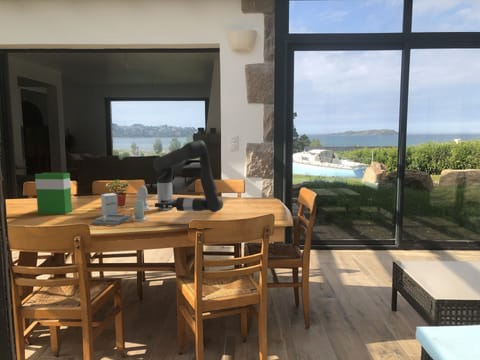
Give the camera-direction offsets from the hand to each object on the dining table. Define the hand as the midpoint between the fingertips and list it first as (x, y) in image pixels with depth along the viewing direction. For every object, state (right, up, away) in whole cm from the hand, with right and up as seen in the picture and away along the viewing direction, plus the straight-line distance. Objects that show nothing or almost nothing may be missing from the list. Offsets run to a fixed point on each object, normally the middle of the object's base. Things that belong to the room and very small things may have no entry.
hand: (158, 203), depth 220 cm
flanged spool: (-11, -9, +4) cm, 15 cm away
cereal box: (-68, -7, +24) cm, 72 cm away
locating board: (-25, -10, 0) cm, 27 cm away
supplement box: (-32, -8, +16) cm, 36 cm away
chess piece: (-17, -6, +33) cm, 38 cm away
